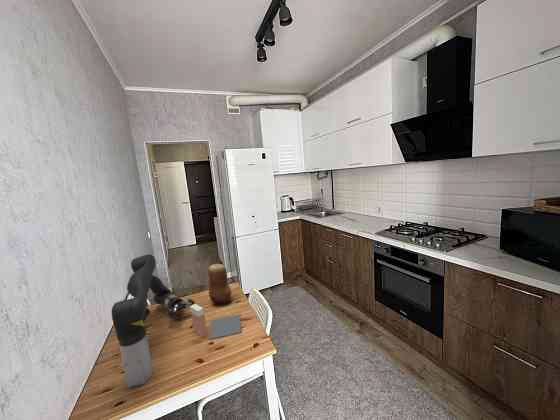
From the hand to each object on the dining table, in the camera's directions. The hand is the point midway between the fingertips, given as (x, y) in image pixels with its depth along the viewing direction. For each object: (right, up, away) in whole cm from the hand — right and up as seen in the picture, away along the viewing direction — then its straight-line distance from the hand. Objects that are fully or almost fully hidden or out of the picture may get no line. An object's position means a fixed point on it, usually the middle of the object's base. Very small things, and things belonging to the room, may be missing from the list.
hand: (187, 311), depth 124 cm
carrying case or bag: (-34, -10, +11) cm, 37 cm away
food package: (-19, -12, -14) cm, 27 cm away
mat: (+22, -6, -4) cm, 23 cm away
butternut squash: (+13, -4, +22) cm, 26 cm away
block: (+10, -8, -7) cm, 14 cm away
